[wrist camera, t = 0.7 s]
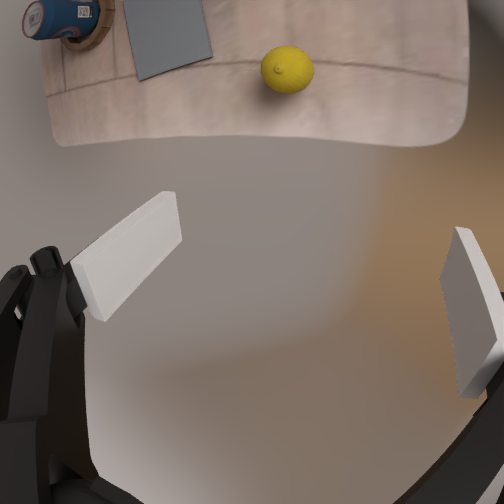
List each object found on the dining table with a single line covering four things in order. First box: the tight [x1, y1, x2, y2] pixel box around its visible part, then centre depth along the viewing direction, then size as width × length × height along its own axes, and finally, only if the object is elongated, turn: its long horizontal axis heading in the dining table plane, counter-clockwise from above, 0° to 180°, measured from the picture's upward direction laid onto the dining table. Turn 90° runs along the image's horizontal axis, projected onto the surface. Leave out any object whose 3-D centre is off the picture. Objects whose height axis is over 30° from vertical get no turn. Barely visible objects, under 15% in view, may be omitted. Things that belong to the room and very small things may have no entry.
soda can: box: [22, 0, 101, 40], centre depth 31 cm, size 7×7×12 cm
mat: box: [123, 0, 213, 81], centre depth 34 cm, size 14×12×1 cm
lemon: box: [261, 46, 314, 94], centre depth 30 cm, size 6×6×8 cm
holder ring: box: [60, 0, 115, 51], centre depth 35 cm, size 12×12×2 cm
